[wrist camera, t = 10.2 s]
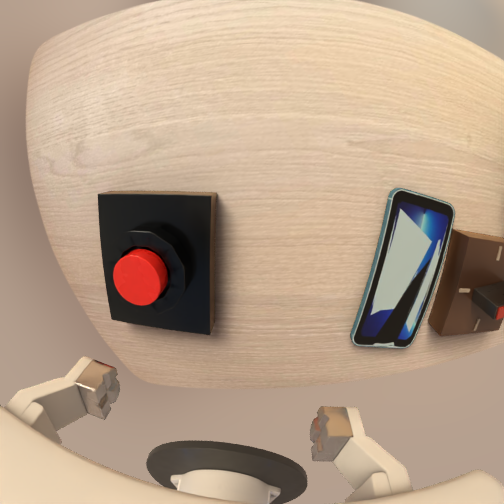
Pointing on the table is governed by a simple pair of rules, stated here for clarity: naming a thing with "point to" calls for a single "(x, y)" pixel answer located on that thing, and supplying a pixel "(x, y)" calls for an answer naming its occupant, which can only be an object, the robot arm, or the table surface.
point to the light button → (140, 277)
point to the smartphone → (403, 269)
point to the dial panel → (467, 283)
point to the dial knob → (490, 299)
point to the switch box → (163, 254)
